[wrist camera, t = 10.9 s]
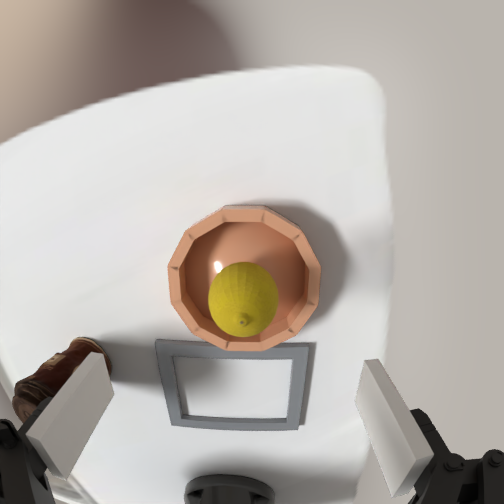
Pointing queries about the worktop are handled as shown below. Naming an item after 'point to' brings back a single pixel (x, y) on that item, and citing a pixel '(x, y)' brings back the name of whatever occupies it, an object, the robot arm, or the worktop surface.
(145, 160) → the worktop surface
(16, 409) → the coffee cup
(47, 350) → the worktop surface
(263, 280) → the lemon
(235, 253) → the bowl
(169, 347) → the gray rectangular frame
